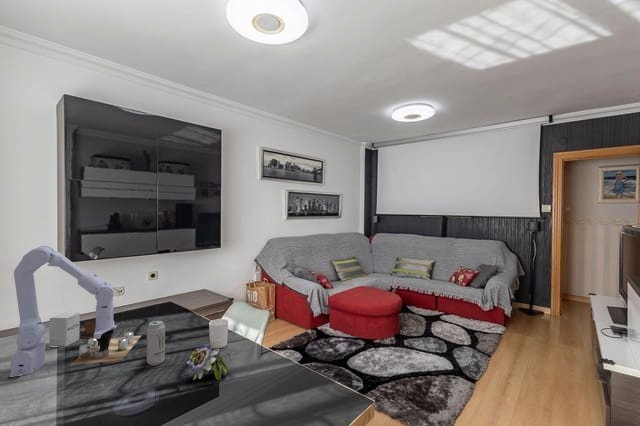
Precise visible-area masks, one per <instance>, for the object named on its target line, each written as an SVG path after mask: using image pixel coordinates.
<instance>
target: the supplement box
mask: <svg viewBox="0 0 640 426" xmlns="http://www.w3.org/2000/svg"><path fill="white" fill-rule="evenodd" d="M80 314H81V313H80V312H63V313H60V314H57V315H55V316H51V317H49V332H48V333H49V335H48V336H49V337H48V338H49V339H48V340H49V344H48V345H49V346H61V347H68V346H69V345H71V344H73V343H75V342H77V341H79V340H80V337H79V333H80V331H81V328H80V327H81V324H80V322H81V320H80ZM79 330H80V331H79ZM49 346H48V347H49Z"/></svg>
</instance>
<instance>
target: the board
mask: <svg viewBox="0 0 640 426" xmlns="http://www.w3.org/2000/svg"><path fill="white" fill-rule="evenodd" d="M141 337H142V335H133V343H130V344H128V349H127V350H124V351H118V340H119V339H121V338H124V336H120V337H111V340H110V344H109V348H108V349H109V356H107V357H104V358H102V359H94V357H93V351H94V350H91V355H90V356H89V357H86V358H80V355H78V357H77V358H76V359H75V360H74V361H73V362H72V363H71V364H69V366H76V365H77V366H78V365H86V364H87V365H88V364H95V363H97V364H98V363H105V362H114V361H122V360H124V359H125V357H126V356H127V355H128V353H129V352H130V350H132V348H133V347H134V346H135V345H136V344H137V342H138V341H139V340H140V338H141ZM99 348H100V346H98V348H97V349H99ZM95 350H96V349H95Z"/></svg>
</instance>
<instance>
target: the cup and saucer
mask: <svg viewBox="0 0 640 426" xmlns="http://www.w3.org/2000/svg"><path fill="white" fill-rule="evenodd" d="M82 328H84V330H81V329H82ZM95 328H96V319H95V320H94V319H93V320H90V321H87V322H85V323H84V325H82V326H81V325H80V330H79V331H80V332H79V338H81V339H90V338H92V337H94V333H95ZM84 333H85V334H84ZM82 335H87V336H82Z"/></svg>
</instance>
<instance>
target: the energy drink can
mask: <svg viewBox="0 0 640 426" xmlns="http://www.w3.org/2000/svg"><path fill="white" fill-rule="evenodd" d="M165 359H166V325H165V324H164V321H163V320H154V321H150V322H149V323H148V326H147V328H146V363H147V364H149V367H154V366H155V367H156V366H159V365H161V364H162V363H164V361H165Z"/></svg>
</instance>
